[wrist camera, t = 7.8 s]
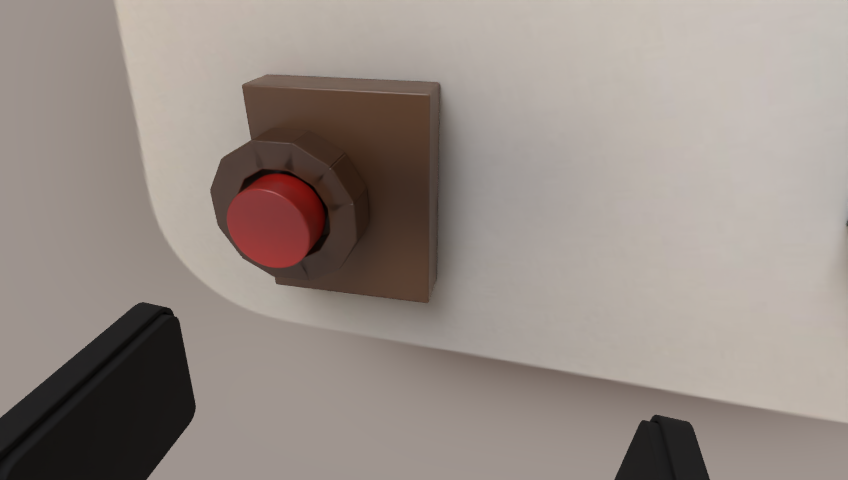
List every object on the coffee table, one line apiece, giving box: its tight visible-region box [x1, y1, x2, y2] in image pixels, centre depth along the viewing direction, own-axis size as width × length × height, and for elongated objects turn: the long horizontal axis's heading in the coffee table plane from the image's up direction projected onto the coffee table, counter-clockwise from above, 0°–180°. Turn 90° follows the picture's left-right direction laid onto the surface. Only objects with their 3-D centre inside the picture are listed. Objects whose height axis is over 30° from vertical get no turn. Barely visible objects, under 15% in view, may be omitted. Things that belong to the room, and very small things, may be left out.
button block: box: [210, 75, 440, 303], centre depth 23 cm, size 10×9×4 cm
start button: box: [227, 173, 326, 268], centre depth 21 cm, size 4×4×2 cm
